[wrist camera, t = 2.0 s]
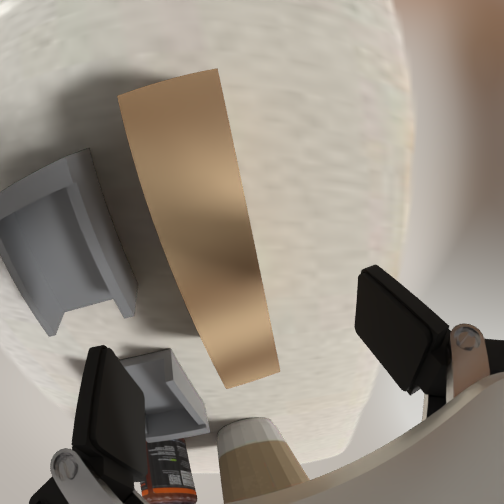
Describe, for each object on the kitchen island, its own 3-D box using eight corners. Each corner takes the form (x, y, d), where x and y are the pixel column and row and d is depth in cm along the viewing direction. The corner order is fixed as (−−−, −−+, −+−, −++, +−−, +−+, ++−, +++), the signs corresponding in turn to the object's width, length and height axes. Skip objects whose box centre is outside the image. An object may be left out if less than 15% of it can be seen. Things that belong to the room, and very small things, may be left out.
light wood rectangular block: (136, 105, 11) (116, 96, 7) (202, 86, 12) (217, 68, 8) (212, 335, 19) (226, 389, 15) (257, 320, 20) (280, 371, 16)
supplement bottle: (144, 448, 26) (155, 524, 16) (128, 429, 23) (137, 519, 13) (189, 444, 27) (206, 521, 17) (179, 426, 24) (197, 518, 15)
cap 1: (7, 189, 10) (-24, 208, 7) (89, 148, 11) (65, 156, 8) (61, 306, 15) (47, 341, 12) (138, 284, 16) (133, 320, 13)
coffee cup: (216, 453, 30) (243, 542, 17) (184, 425, 24) (213, 548, 11) (293, 430, 32) (333, 516, 19) (284, 396, 26) (340, 515, 13)
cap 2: (204, 403, 23) (210, 432, 20) (146, 414, 22) (148, 442, 19) (170, 348, 19) (173, 384, 16) (101, 363, 18) (96, 397, 15)
